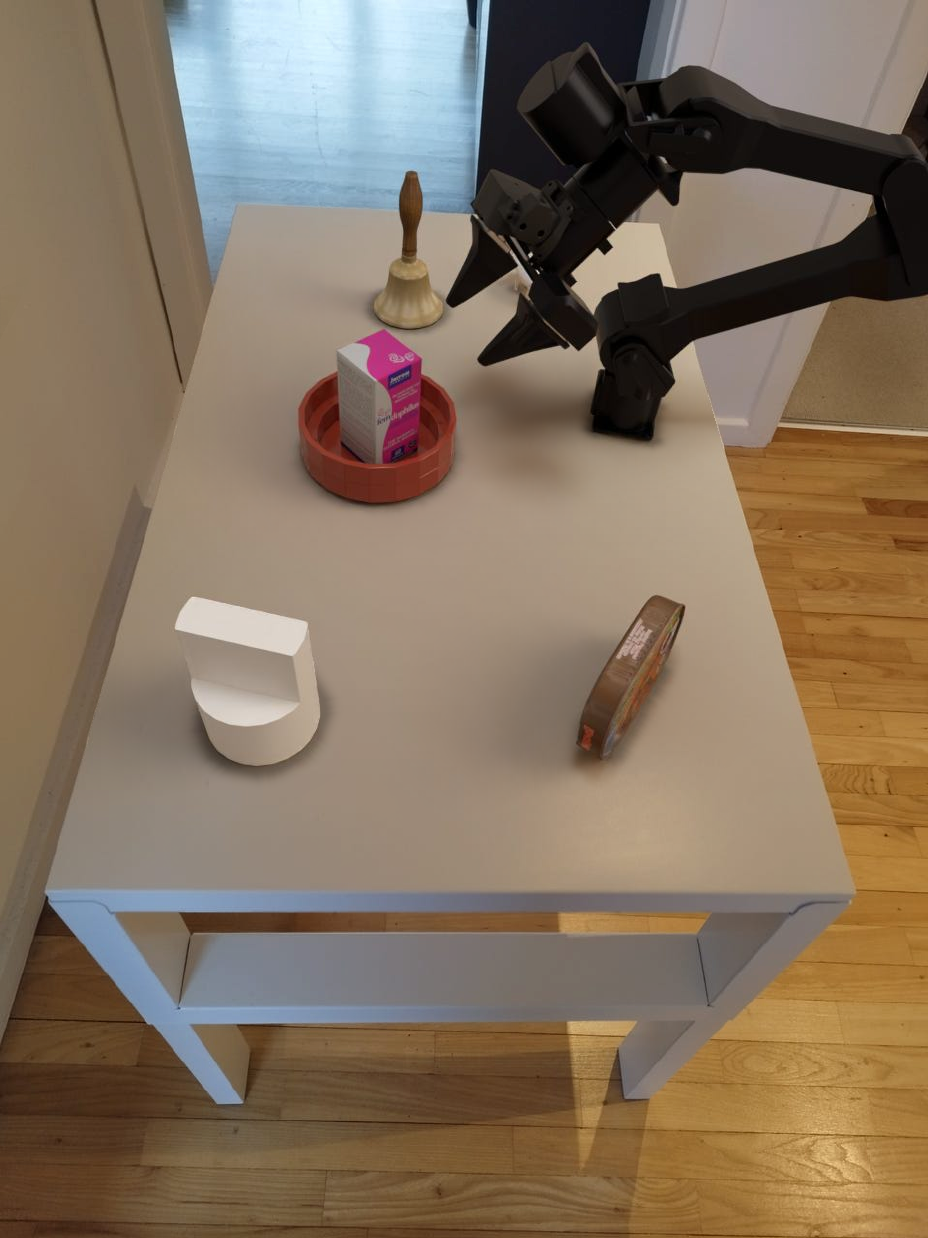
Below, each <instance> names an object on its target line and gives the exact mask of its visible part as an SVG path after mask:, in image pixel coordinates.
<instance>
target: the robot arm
mask: <svg viewBox="0 0 928 1238" xmlns="http://www.w3.org/2000/svg"><path fill="white" fill-rule="evenodd" d="M516 110H517V112H518V113H519V114H520V115H521V116H522V118H523V119H524V120H525V121H526V122H527V124H528V125H529V126H530V127H531V128H532V130H533V131H534V132H535V133H536V135H538V137H539V138H540V139H541V140H542V142H543V143H544V144H545V145H546V147H547V148H548V149H549V150H550V151H551V153H552V154H553V155H554V156H555V157H556V158H557V160H558V161H559V162H560V164H561V165H563V166H573V167H574V168H575V169H579V170H577V171H576V173H574V175H573V177H572V176H571V177H570V178H569V180H568V181H566V182H565V184H562V182H561V181H560V180H559V179H558V178H555V179H554V180H553V179H551V180H549V181H548V182H547V183H546V184H545V185H544V186H543V187H542V188H541V189H539V188H536V187H534V186H532V185H531V184H529V183H527V182H526V181H523V180H520V179H519V178H516V177H513V176H512V175H509V174H506V173H504V172H502V171H499V170H497V169H494V168H491V169H490V170H489V171H488V173H487V175H486V177H485V180H484V181H483V183H482V186H481V187H480V190H479V192H478V194H477V195H476V196H475V198H474V199H472V201H471V202H470V203H469V205H470V206H471V208H472V209H473V211H474V213H475V214H476V216H477V217H476V216H475V215H474V214H471V215H470V217H469V221H470V223H471V241H472V242H471V245H470V248H469V251H468V252H467V255H466V257H465V260H464V261H463V264H462V266H461V268H460V270H459V272H458V274H457V276H456V278H455V280H454V282H453V284H452V286H451V288H450V290H449V292H448V294H447V296H446V298H445V303H446V305H448V306H449V307H450V308H451V309H455V308H457V307H459V306H460V305H462V304H464V303H466V302H468V300H470V299H472V298H473V297H475V296H476V295H478V294H479V293H481V292H483V290H485V289H487V288H488V287H489V286H491V285H493V284H494V283H495V282H497V281H498V280H500V279H502V278H503V277H505V276H506V275H508V274H509V273H511V272H512V271H514V270H516V269H515V268H516V267H518V264H517V262H516V261H515V259H514V258H513V256H512V255H511V253H510V251H511V250H512V251H513V253H514V254H515V256H516V257H517V259H518V260H519V262H520V263H521V265H522V267H523V268H524V270H525V271H526V273H527V274H528V276H529V277H530V279H531V280H532V284H531V287H530V290H529V294H528V296H529V300H528V299H527V298H526V296H525V295H524V294H523V293H522V292H519V294H518V299H517V304H516V309H515V314H514V315H513V316H512V317H511V319H510V320H509V321H508V322H507V323H506V324H505V325H504V326H503V327H502V328H501V330H499V332H498V333H497V334H496V335H494V337H493V338H492V339H491V340H490V342H489V343H488V344H486V346H485V347H484V349H482V351H481V352H480V353H479V355H478V356H477V358H476V360H477V362H478V364H479V365H481V366H482V367H489V366H492V365H496V364H498V363H502V362H505V361H509V360H511V359H514V358H517V357H521V356H522V355H527V354H530V353H533V352H537V351H538V352H539V351H542V350H547V349H551V348H555V347H561V348H562V349H563V350H567V349H568V348H570V346H572V347H573V348H574V349H575V351H577V352H580V351H581V350H583V348H584V347H585V346H586V345H588V344H589V343H590V342H591V341H592V340H593V339H594V338H595V339H596V344H597V351H598V356H599V361H600V363H601V365H602V367H603V368H600V369H599V370H597V375H596V380H595V386H594V388H593V389H594V390H593V394H592V399H591V405H590V411H589V414H590V415H591V416H593V418H592V424H591V430H592V431H593V432H594V433H595V432H596V433H599V434H606V435H611V436H616V437H617V436H618V437H623V438H629V439H632V440H633V439H634V440H639V441H643V442H644V441H645V442H652V441H653V439H654V436H655V428H656V427H655V426H656V420H657V416H658V412H659V409H660V406H661V402H662V400H663V398H664V397H666V396H667V395H668V393H669V392H670V391H671V389H672V388H673V387H674V385H675V383H676V378H675V375H674V372H673V371H674V370H673V367H672V363H671V361H672V360H673V359H674V358H675V357H676V356H678V355H679V354H680V353H681V352H683V350H684V349H685V348H687V347H688V346H689V345H690V344H691V343H693V342H694V341H698V340H700V339H704V338H707V337H710V336H714V335H718V334H721V333H724V332H728V331H732V330H735V329H739V328H742V327H745V326H749V325H752V324H757V323H759V322H760V323H761V322H763V321H767V320H770V319H773V318H778V317H781V316H785V315H789V314H792V313H795V312H799V311H802V310H805V309H809V308H813V307H817V306H819V305H824V304H826V303H831V302H834V301H837V300H838V301H839V300H841V299H844V298H858V299H866V300H871V301H879V302H885V303H887V302H894V301H895V302H896V301H902V300H909V299H915V298H922V297H925V296H928V161H927V160H926V159H925V156H923V154H922V152H921V151H920V149H919V148H918V147H917V145H916V144H915V143H914V141H913V139H912V138H911V137H909V136H907V135H905V134H901V133H890V134H888V133H885V132H880V131H876V130H873V129H868V128H865V127H860V126H856V125H852V124H848V123H844V122H840V121H835V120H831V119H828V118H824V117H821V116H816V115H812V114H808V113H803V112H801V111H800V112H799V111H796V110H793V109H788V108H783V107H780V106H775V105H771V104H769V103H767V102H766V101H764V100H761V99H760V98H758V97H756V96H755V95H754V94H752V93H751V92H749V91H748V90H746V89H745V88H743V87H742V86H740V84H737V83H736V82H735V81H732V80H731V79H729V78H726V77H724V76H722V75H720V74H719V73H716V72H714V71H713V70H711V69H708V68H707V67H704V66H701V65H690V64H688V65H684V66H680V67H679V68H678V69H677V70H676V71H674V72H673V73H671V74H670V75H668V76H666V77H660V78H652V79H643V80H636V81H635V80H634V81H626V82H619V83H617V84H615V82H614V81H613V80H612V78H611V76H610V75H609V74H608V72H607V71H606V70H605V68H604V67H603V66H602V64H601V61H600V59H599V57H598V54H597V53H596V51H595V50H594V49H593V47H592V46H591V43H589V42H587V41H584V42H583V43H582V44H581V45H580V46H579V47H578V48H577V49H575V50H574V51H567V52H566V53H562V54H561V55H559V56H558V57H556V58H554V59H553V60H552V61H551V60H548V61H547V62H546V63H545V64H544V65H542V66H541V67H540V69H538V71H537V72H536V73H535V74H534V75H533V76H532V78H530V80H529V81H528V82H527V84H526V86H525V87H524V88H523V90H522V92H521V94H520V96H519V99H518V101H517V106H516ZM648 117H650V119H651V120H649V118H648ZM624 130H625V131H624ZM663 158H664V160H665V161H666V162H664V160H663ZM745 169H747V170H749V169H751V170H752V169H753V170H762V171H767V172H770V173H775V174H779V175H783V176H788V177H793V178H796V179H801V180H805V181H809V182H812V183H813V182H814V183H818V184H822V185H827V186H831V187H835V188H840V189H844V190H847V191H853V192H857V193H860V194H865V195H870V196H871V201H872V204H873V208H874V212H875V214H872V215H871V216H869V217H866V218H865V219H864V220H862V222H861V223H859V224H858V225H857V226H856V227H855V228H854V229H853V230H852V231H850V232H849V233H848V234H847V235H845V237H843V238H842V239H841V240H839V241H837V242H835V243H831V244H828V245H825V246H822V247H819V248H815V249H812V250H809V251H805V252H802V253H799V254H796V255H795V254H794V255H791V256H789V257H785V258H782V259H779V260H775V261H772V262H768V263H765V264H762V265H761V264H760V265H758V266H755V267H751V268H748V269H745V270H742V271H737V272H735V273H731V274H728V275H724V276H722V277H718V278H714V279H712V280H708V281H704V282H702V283H697V284H695V285H692V286H687V287H681V288H679V287H673V286H666V285H664V283H663V279H662V276H661V273H659V272H656V273H650V274H648V275H646V276H643V277H642V278H641V277H640V278H639V279H636V280H634V281H628V282H626V281H625V282H624V281H618V282H617V288H616V289H614V290H612V291H610V292H607V293H606V294H604V295H603V296H601V299H600V301H599V303H598V304H597V305H596V306H595V309H594V312H593V313H592V311H591V310H590V308H589V307H588V306H587V305H588V304H586V302H585V301H584V300H583V298H581V297H580V295H579V294H577V293H576V291H575V290H574V289H573V288H572V287H573V286H575V284H576V283H578V281H577V279H576V277H575V276H574V275H573V273H574V271H575V270H577V269H578V267H579V266H581V265H582V264H583V263H584V262H585V261H586V260H587V259H588V258H589V257H590V256H591V255H592V254H593V253H595V252H596V250H599V251H600V253H601V254H602V255H603V256H606V255H607V254H608V253H609V252H610V251H611V250H612V249H613V248H614V246H613V244H612V243H611V242H610V241H609V240H608V239H609V238H610V237H611V236H612V235H613V234H614V233H615V232H616V231H617V230H618V229H619V228H620V227H621V226H622V225H623V224H624V223H625V222H626V221H627V220H628V219H629V218H631V216H632V215H633V214H634V213H635V212H637V211H638V210H639V208H641V207H642V206H643V205H644V204H645V203H646V202H647V201H648V200H649V199H650V198H651V197H652V196H653V195H654V194H655V193H656V192H658V193H659V194H660V195H661V196H662V197H663V199H664V200H666V202H667V203H668V204H669V205H670V206H671V207H676V206H678V205H679V203H680V195H681V183H682V182H681V181H682V178H683V176H684V174H703V175H705V174H706V175H708V174H709V175H725V174H730V173H732V172H737V171H740V170H745ZM530 253H532V254H533V255H532V256H531V257H529V256H528V255H529V254H530ZM536 270H538V272H539V274H538V273H537V271H536Z"/></svg>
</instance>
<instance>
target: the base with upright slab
mask: <svg viewBox="0 0 928 1238" xmlns="http://www.w3.org/2000/svg"><path fill="white" fill-rule="evenodd" d="M174 631H175V633H176V637H177V640H178V642H179V646H180V648H181V652H182V655H183V657H184V660H185V662H186V667H187V669H188V671H189V674H190V678H191V683H190V684H191V687H190V688H191V690H192V692H193V696H194V699H195V703H196V705H197V709H198V711H199V714H200V716H201V719H202V722H203V725H204V728H205V731H206V734H207V736H208V739H209V741H210V743H211V745H213V747H214V749H215V750H216V751H217V752H218V753H220V754H221V755H222V756H224V757H225V758H226V759H228V760H229V761H232V762H234V763H238V764H240V765H245V766H253V767H261V766H269V765H275V764H277V763H280V762H282V761H283V762H284V761H286V760H288V759H290V758H292V757H293V756H295V755H296V754H297V753H299V752H301V751H302V750H303V749H304V748H305V747H306V746H307V745H308V743H309V742H311V740H312V739H313V737H314V735H315V733H316V731H317V730H318V728H319V723H320V719H321V707H320V696H319V691H318V683H317V676H316V670H315V662H314V659H313V652H312V646H311V645H312V644H311V638H310V637H311V636H310V631H309V623H308V621H306V620H302V619H298V618H292V617H287V616H283V615H279V614H275V613H269V612H265V611H261V610H257V609H252V608H248V607H244V606H240V605H239V606H238V605H234V604H230V603H224V602H221V601H216V600H211V599H208V598H203V597H198V596H191V597H190V598H188V600H187V601H186V603H185V604H184V605H183V607H182V608H181V610H179V613H178V616H177V619H176V621H175V624H174Z"/></svg>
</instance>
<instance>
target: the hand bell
mask: <svg viewBox="0 0 928 1238" xmlns="http://www.w3.org/2000/svg"><path fill="white" fill-rule="evenodd" d="M404 175H405V176H404V179H403V182H402V184H401V188H400V191H399V195H398V213H399V219H400V222H401V227H402V242H401V243H402V244H401V257H398V258H396V259H395V260H393V261H392V262H391V263H390V265H389V269H388V277H387V281H386V285H385V288H384V289H383V290H382V291H381V292H380V293H379V294H378V295H377V296H376V298H375V300H374V302H373V305H372V306H373V312H374V315H375V316H376V317H377V318H378V319H379V320H380V321H382V322H383V323H385V324H386V325H389V326H390V327H391V326H392V327H395V328H400V329H408V330H409V329H421V328H424V327H428V326H431V325H433V324H435V323H436V322H437V321H439V320H440V318H441V317H442V316H443V314H444V305H443V302H442V300H441V298H440V297H439V296H438V295H437V294H436V293H435V292H434V291H433V289H432V285H431V282H430V274H429V267H428V265H427V264H426V263H425V262H424V260H422V259H420V258H417V253H418V229H419V225H420V222H421V219H422V216H423V206H424V195H423V191H422V187H421V184H420V180H419V174H418V172H417V171H415V170H408V171H406V172H405V174H404Z"/></svg>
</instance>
